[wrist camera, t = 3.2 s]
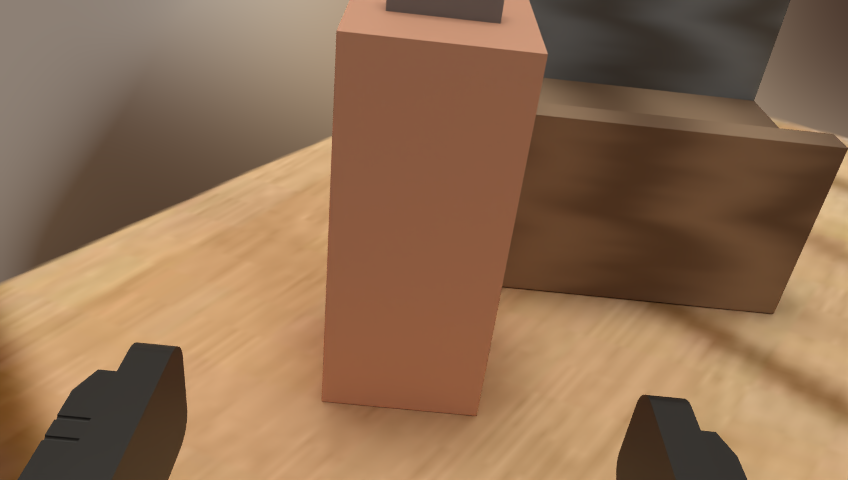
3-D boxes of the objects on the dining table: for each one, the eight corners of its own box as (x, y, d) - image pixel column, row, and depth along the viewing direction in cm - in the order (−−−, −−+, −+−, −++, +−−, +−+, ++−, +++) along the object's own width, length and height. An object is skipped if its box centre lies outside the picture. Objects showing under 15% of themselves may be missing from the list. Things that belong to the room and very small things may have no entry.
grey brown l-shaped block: (704, 197, 39) (843, -203, 29) (773, 313, 30) (1001, -190, 21) (437, 169, 38) (489, -246, 29) (434, 279, 30) (506, -252, 20)
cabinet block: (472, 318, 28) (538, -56, 21) (476, 416, 24) (560, -11, 17) (340, 306, 28) (361, -76, 21) (321, 401, 24) (339, -36, 17)
